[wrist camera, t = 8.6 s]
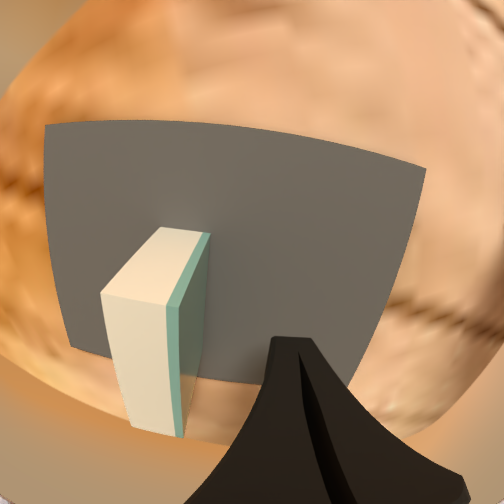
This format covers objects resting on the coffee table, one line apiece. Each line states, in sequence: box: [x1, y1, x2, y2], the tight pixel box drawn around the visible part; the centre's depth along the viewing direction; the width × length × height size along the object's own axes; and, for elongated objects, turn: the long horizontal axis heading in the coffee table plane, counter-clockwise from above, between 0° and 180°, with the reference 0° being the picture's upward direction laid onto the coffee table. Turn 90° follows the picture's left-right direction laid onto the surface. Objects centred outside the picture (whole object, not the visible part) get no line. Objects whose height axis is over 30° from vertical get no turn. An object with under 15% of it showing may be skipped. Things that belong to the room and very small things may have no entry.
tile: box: [100, 227, 211, 438], centre depth 10 cm, size 2×6×5 cm, turn 172°
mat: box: [44, 120, 426, 387], centre depth 12 cm, size 16×12×1 cm
